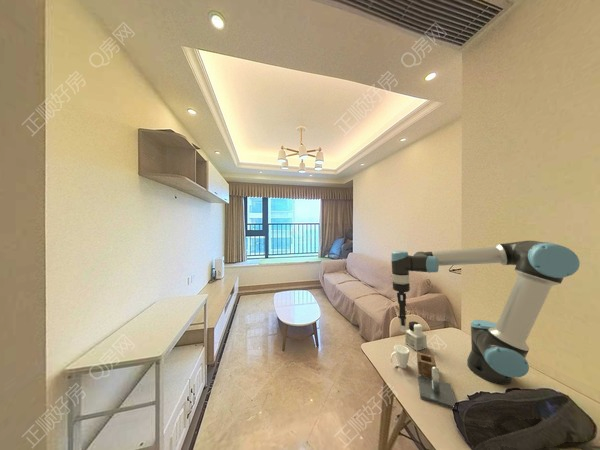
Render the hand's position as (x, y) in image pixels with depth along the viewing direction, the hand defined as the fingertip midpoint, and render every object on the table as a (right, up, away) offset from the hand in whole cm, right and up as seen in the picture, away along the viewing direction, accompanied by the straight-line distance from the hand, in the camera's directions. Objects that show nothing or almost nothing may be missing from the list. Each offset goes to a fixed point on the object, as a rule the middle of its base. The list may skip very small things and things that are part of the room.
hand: (403, 324), depth 96 cm
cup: (-2, -21, 0) cm, 21 cm away
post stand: (+5, -20, -15) cm, 26 cm away
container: (+16, -20, +15) cm, 30 cm away
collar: (+9, -20, -4) cm, 22 cm away
